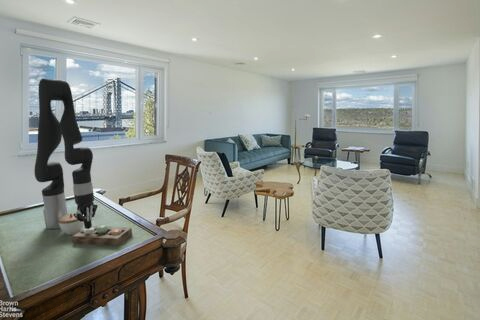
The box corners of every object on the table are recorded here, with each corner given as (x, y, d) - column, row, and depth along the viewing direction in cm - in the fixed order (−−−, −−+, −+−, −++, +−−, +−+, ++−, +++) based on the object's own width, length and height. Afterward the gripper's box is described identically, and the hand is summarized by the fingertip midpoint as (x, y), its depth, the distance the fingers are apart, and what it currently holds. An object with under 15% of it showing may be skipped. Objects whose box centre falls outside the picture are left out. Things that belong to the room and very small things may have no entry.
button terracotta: (109, 237, 121) (108, 232, 121) (115, 233, 125) (115, 228, 125) (118, 238, 120) (117, 233, 120) (124, 234, 125) (123, 229, 124)
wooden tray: (73, 243, 121) (72, 235, 120) (90, 232, 132) (89, 225, 131) (118, 245, 117) (117, 238, 117) (132, 234, 128) (131, 227, 127)
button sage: (95, 233, 122) (94, 228, 122) (101, 229, 126) (100, 224, 126) (103, 234, 121) (103, 229, 121) (110, 229, 126) (109, 225, 125)
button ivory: (81, 236, 124) (81, 231, 123) (88, 232, 128) (87, 227, 127) (90, 236, 123) (89, 231, 122) (97, 232, 127) (96, 227, 127)
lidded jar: (59, 238, 126) (56, 219, 124) (61, 230, 135) (58, 212, 133) (85, 233, 130) (83, 215, 129) (86, 225, 140) (83, 208, 138)
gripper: (86, 187, 129) (91, 222, 132) (64, 196, 116) (70, 234, 119) (101, 188, 127) (105, 222, 131) (80, 196, 115) (85, 235, 118)
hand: (88, 228), depth 125 cm, fingers closed
